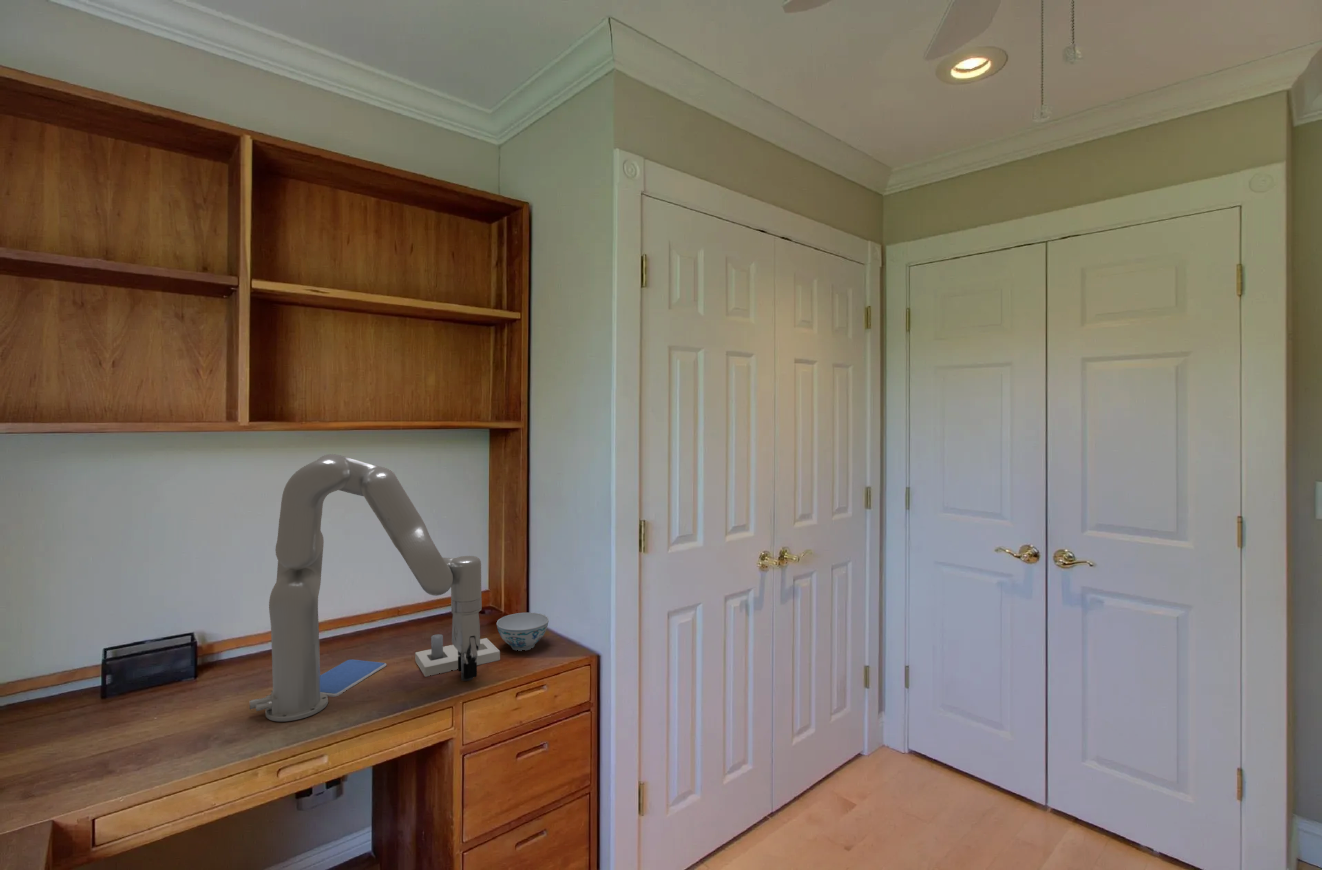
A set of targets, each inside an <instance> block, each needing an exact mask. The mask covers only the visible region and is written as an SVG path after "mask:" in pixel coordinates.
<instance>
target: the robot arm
mask: <svg viewBox="0 0 1322 870" xmlns="http://www.w3.org/2000/svg"><path fill="white" fill-rule="evenodd" d="M338 491H342V492H345V493H348V494H352V495H356V496H361V497H364V499H365V500H366V503H368V505H369V507H370V509H371V510H372V512H373V513H374V515H375V516H376V518H377V519H378V521H379V523H380V525H381V526H382V527H383V529H384V531H385V532H386V533H387V536H388V537H389V539H390V540H391V542H392V544H393V546H394V547H395V548H396V549H397V550H398V552H399V553H400V554H401V556H402V558H403V559H404V562H405V563H406V564H407V566H408V568H409V569H410V571H411V573H412V574H413V576H414V578H415V579H416V581H417V582H418V583H419V585H420V587H421V589H422V590H423V592H425V593H426V594H427V595H431V596H441V595H443V594H446V593H447V592H448V591H450V598H451V599H450V604H451V605H450V608H451V609H450V612H451V614H452V623H451V643H452V644H451V645H454V647H455V648H456V649H457V650H458V672H459V673H461V654H464V657H465V663H464V679H469V678H473V679H474V678H476V677H477V676H478V670H477V669H478V668H477V667H478V665H477V656H478V654H477V651H478V650H479V649H480V639H481V629H480V616H479V612H480V611H482V608H483V607H482V606H483V605H482V600H483V599H482V597H483V596H482V561H481V559H480V558H479V557H478V556H474V555H462V556H458V557H443V556H442V554H441V553H440V552H439V550H438V548H437V546H436V544H435V543H434V541H433V540H432V538H431V535H430V533H429V531H428V528H427V525H426V523H425V521H424V520H423V518H422V516H421V515H420V513H419V512H418V510H417V508H416V507H415V505H414V504H413V502H412V500H411V499H410V497H409V495H408V494H407V492H406V491H405V489H404V487H403V485H402V484H401V483H400V481H399V479H398V477H397V476H396V474H395V472H393V471H392V470H390V469H389V468H387V467H383V466H379V465H375V464H371V463H367V462H365V461H361V460H358V459H355V458H354V459H353V458H350V457H347V456H343V455H341V454H336V453H335V454H333V453H332V454H331V453H329V454H324V455H322V456H320V457H318V458H317V459H316V460H314V461H312V462H309V463H308V464H306V465H304V466H301V468H299V469H297V471H295V472H294V473H293V474H292V475H291V476H290V477H289V479H288V481H287V483H286V484H285V486H284V489H283V492H282V497H281V503H280V510H279V519H278V528H277V538H276V539H277V540H276V543H275V548H274V549H275V556H276V558H277V571H276V581H275V583H274V586H273V587H272V590H271V592H270V594H269V601H268V610H269V611H268V613H269V621H270V635H271V665H272V667H271V668H272V690H270V694H268V695H265V697H262V698H256V699H249V710H252V709H255V711H256V712H259V711H263V710H265V718H267V719H268V720H270V721H273V722H291V721H297V720H302V719H305V718H308V717H311V716H313V715H315V714H318V713H319V712H321V711H323V710H324V709H325V708H326V707H327V706H328V703H329V698H328V697H329V696H326V695H325V694H323V693H320V675H321V667H320V665H321V664H320V663H321V659H320V657H321V655H320V630H319V629H320V627H319V626H320V625H319V622H320V621H319V594H320V589H321V583H322V570H323V569H322V567H323V555H324V542H325V541H324V534H323V532H322V531H321V527H322V517H323V509H324V508H323V507H324V501H325V499H326V498H327V496H328V495H330V494H332V493H334V492H338ZM469 648H470V650H469V651H467V649H469ZM469 653H471V654H470V655H469V657H468V654H469Z"/></svg>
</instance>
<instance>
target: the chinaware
mask: <svg viewBox="0 0 1322 870" xmlns="http://www.w3.org/2000/svg"><path fill="white" fill-rule="evenodd" d="M496 621H497V622H496V627H497V631H498V634H499V636H500V638H501V639H502V640H503V642H505V643H506V644H508V645H509V646H510V647H511V649H512V650H514V651H517V650H518V652H519V651H520V652H523V651H522V650H525V651H529V650H531V648H532V649H533V648H535V646H536V645H535V644H537V643H538V642H539V641H540V640H541V639H542V638H543V637H544V636H545V633H546V632H547V629H548V626H549V617H548V616H547V615H545V614H543V613H537V612H518V613H517V612H516V613H513V614H508V615H504V616H502V617H501V618H499V619H498V620H496Z"/></svg>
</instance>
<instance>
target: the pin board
mask: <svg viewBox="0 0 1322 870" xmlns="http://www.w3.org/2000/svg"><path fill="white" fill-rule="evenodd" d="M430 639H431V640H430V645H431V648H430V649H425V650H421V651H416V652H415V653H414V654H415V655H414V658H415V659H414V661H415V663H416V664H417V665H418V667H419V669H420V671H421V672H422V674H423V676H424V677H425V678H426V677H431V676H435V675H439V673H440V674H443V673H448V672H449V673H450V672H452V671H451V670H453V671H457V669H458V650H457V649H456V648H455V647H454V645H453V644H450V645H445V646H444V635H443V634H441V633H440V634H438V633H437V634H434V635H431V637H430ZM477 654H478V656H477V666H480V665H483V664H488V663H489V664H490V663H493V662H497V661H500V660H501V651H500V649H498V648H497V647H496V645H494V643H492V642H491V641H490V640H489V638H487V637H485V638H480V649H479V650H478V651H477ZM430 675H431V676H430Z"/></svg>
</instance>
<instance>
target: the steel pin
mask: <svg viewBox="0 0 1322 870" xmlns="http://www.w3.org/2000/svg"><path fill="white" fill-rule="evenodd" d="M469 650H470V648H469V649H467V651H469ZM470 654H471V653H469V654H468V657H469V655H470ZM464 663H465V657H464V654H461V672H460V673H461V674H460V676H461V677H460V678H461V681H464V682H469V681H471V680H473V679H474V677H473V678H469V679H464Z"/></svg>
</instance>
